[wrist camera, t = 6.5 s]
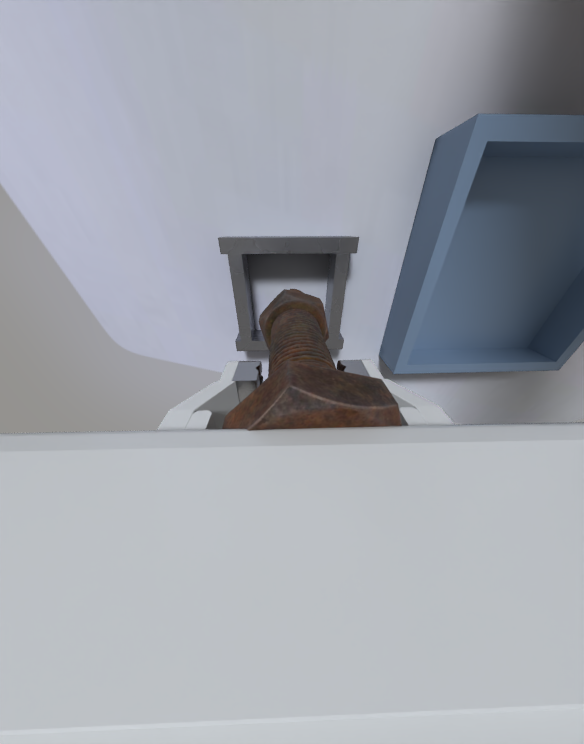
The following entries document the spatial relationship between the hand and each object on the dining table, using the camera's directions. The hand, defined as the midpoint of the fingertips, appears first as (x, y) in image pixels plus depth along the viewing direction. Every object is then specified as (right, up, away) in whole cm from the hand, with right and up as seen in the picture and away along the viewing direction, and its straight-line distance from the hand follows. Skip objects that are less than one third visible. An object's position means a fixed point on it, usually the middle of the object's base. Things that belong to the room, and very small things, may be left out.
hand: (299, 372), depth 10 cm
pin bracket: (-1, +9, +13) cm, 16 cm away
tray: (+21, +11, +13) cm, 27 cm away
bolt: (0, +6, +8) cm, 10 cm away
